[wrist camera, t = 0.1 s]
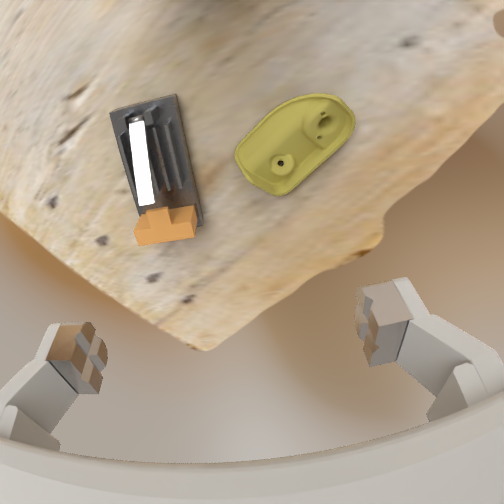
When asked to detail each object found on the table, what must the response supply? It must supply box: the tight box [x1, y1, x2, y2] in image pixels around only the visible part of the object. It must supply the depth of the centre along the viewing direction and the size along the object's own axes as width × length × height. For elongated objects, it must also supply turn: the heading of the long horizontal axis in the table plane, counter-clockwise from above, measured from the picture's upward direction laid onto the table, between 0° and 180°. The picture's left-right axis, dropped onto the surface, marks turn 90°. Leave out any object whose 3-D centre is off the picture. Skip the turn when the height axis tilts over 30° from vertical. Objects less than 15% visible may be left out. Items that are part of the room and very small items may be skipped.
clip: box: [134, 205, 198, 246], centre depth 54 cm, size 6×10×6 cm, turn 98°
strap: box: [128, 115, 156, 206], centre depth 45 cm, size 14×2×1 cm, turn 7°
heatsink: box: [109, 94, 203, 227], centre depth 51 cm, size 24×11×8 cm, turn 7°
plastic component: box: [235, 93, 356, 196], centre depth 51 cm, size 20×7×10 cm
